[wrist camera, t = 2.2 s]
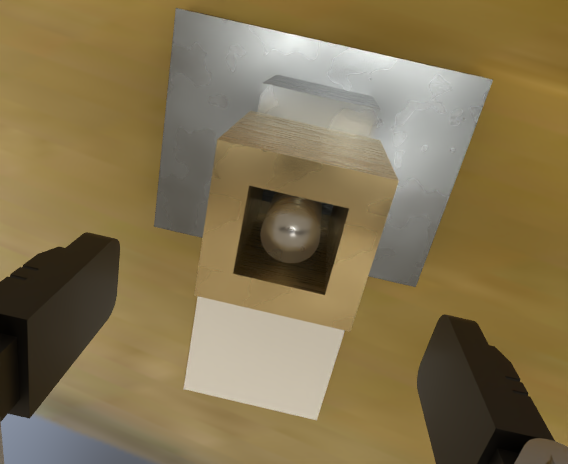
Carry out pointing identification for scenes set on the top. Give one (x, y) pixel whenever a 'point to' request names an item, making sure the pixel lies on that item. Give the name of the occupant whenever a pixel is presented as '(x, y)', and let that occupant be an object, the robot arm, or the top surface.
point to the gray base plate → (320, 112)
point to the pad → (260, 358)
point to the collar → (306, 184)
